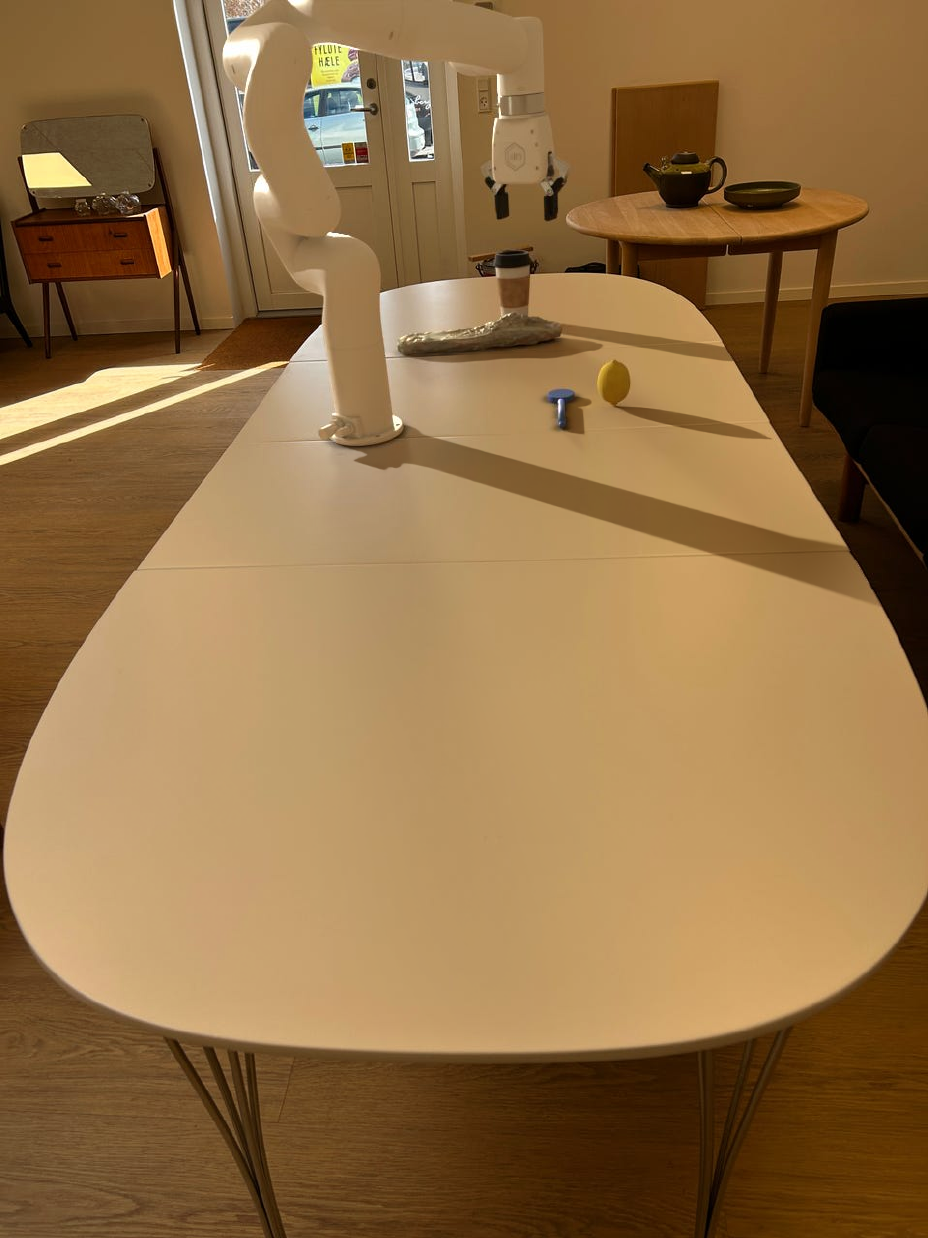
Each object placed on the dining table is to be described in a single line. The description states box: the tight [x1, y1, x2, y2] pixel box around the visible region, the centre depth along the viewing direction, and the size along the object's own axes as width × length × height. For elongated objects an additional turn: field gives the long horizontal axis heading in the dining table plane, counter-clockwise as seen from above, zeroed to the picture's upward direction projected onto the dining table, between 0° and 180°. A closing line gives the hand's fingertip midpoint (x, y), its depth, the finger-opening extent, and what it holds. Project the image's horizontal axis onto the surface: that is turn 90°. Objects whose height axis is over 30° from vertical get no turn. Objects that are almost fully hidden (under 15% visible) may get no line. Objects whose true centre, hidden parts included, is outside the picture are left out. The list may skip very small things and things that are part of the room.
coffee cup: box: [493, 249, 532, 317], centre depth 208 cm, size 8×8×15 cm
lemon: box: [597, 359, 631, 407], centre depth 159 cm, size 6×6×8 cm
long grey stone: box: [396, 312, 563, 356], centre depth 197 cm, size 35×5×10 cm
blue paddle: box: [547, 388, 576, 430], centre depth 160 cm, size 18×5×1 cm, turn 176°
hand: (526, 218), depth 161 cm, fingers open, 9 cm apart
